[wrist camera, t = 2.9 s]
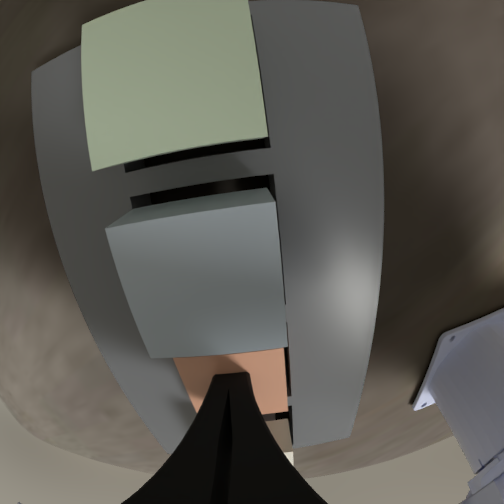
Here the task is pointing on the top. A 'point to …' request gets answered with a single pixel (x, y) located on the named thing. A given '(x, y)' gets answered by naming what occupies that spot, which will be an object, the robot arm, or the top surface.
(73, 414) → the top surface
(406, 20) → the top surface
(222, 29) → the key sage
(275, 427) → the key ivory
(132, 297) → the key slate
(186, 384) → the key terracotta
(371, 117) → the grey slotted tray
